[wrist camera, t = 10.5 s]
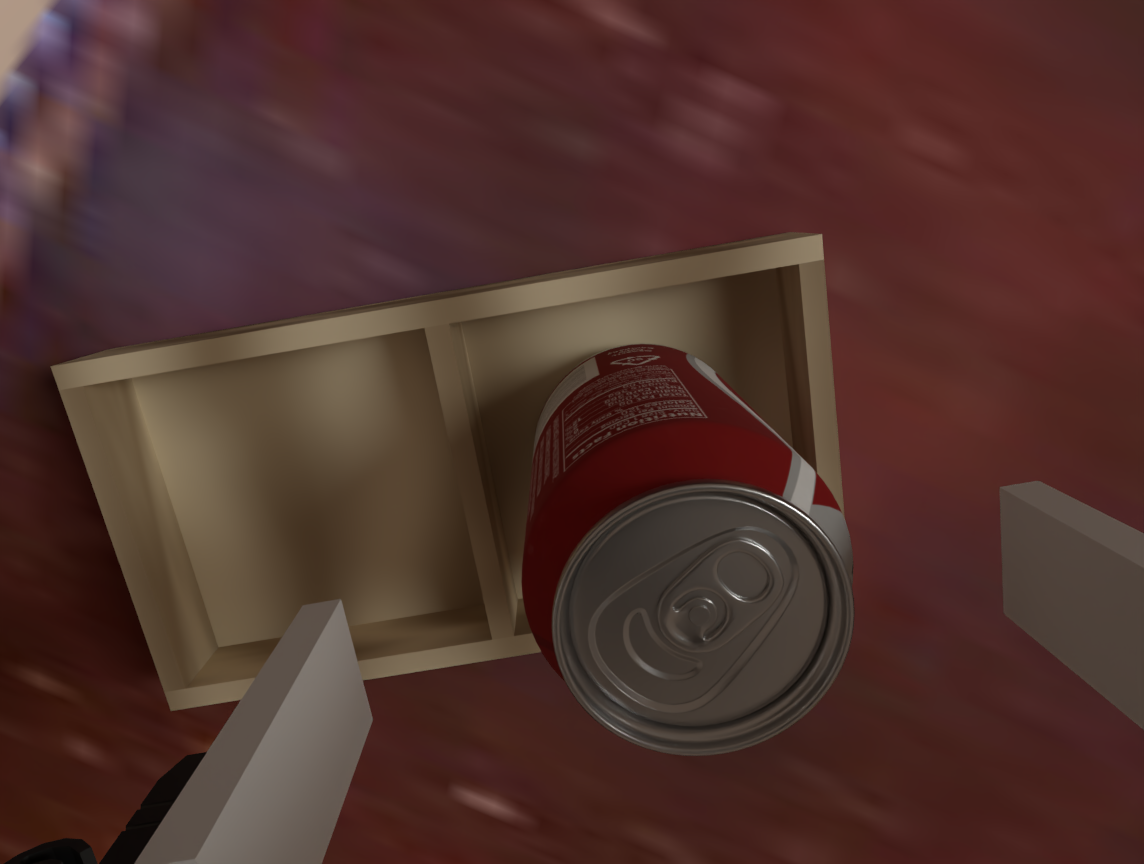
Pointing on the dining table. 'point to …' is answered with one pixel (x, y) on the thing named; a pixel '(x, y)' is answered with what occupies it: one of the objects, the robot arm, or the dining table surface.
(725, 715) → the soda can
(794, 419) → the caddy
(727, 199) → the dining table surface
